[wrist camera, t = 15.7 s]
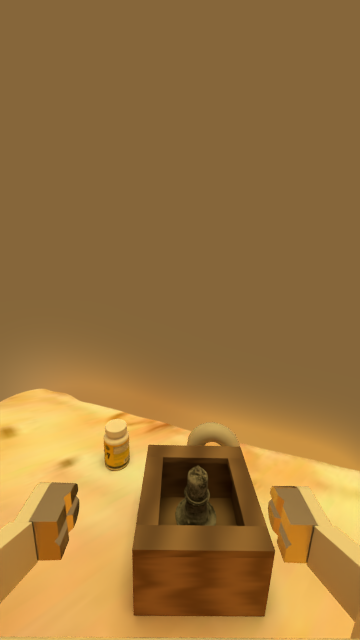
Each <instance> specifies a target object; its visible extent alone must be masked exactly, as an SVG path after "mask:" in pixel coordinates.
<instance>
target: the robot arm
mask: <svg viewBox="0 0 360 640" xmlns="http://www.w3.org/2000/svg"><path fill="white" fill-rule="evenodd" d="M77 492H78V485H77V484H76V483H54V482H52V483H49V482H40V483H39V484H37V485H36V487H35V488H34V490H33V492H32V493H31V495H30V496H29V498H28V499H27V501H26V503H25V504H24V506H23V507H22V509H21V511H20V512H19V514H18V515H17V517H16V519H15V520H14V522H9V523H8V524H6V525H5V526H4V527H2V528H1V529H0V603H1V602H2V601H3V600H4V599H5V598H6V597H7V595H8V594H9V593H10V592H11V591H12V590H13V589H14V588H15V587H16V586H17V584H18V583H19V582H20V581H21V580H22V579H23V578H24V577H25V576H26V574H27V573H28V572H29V571H30V570H31V569H32V568H33V567H34V566H35V565H36V563H37V562H38V561H39V560H61V559H62V556H63V554H64V551H65V549H66V546H67V544H68V541H69V535H68V533H69V532H70V531H71V530H72V529H73V528H74V526H75V523H76V520H77V516H78V512H79V499H78V498H77V497H76V495H77ZM270 495H271V497H272V499H271V500H270V501H269V505H268V513H269V520H270V524H271V527H272V529H273V531H274V532H275V533H276V534H277V535H278V540H277V544H278V547H279V549H280V552H281V555H282V558H283V561H284V562H287V563H307V566H308V567H309V568H310V569H311V570H312V572H313V573H314V574H315V575H316V576H317V578H318V579H319V580H320V581H321V582H322V584H323V585H324V586H325V587H326V588H327V589H328V591H329V592H330V593H331V594H332V595H333V597H334V598H335V599H336V600H337V601H338V603H339V604H340V605H341V606H342V607H343V608H344V610H345V611H346V612H347V613H348V614H349V616H350V617H351V618H352V619H353V620H354V622H355V624H354V627H353V631H352V634H351V638H350V639H306V638H159V637H0V640H360V545H358V544H357V543H356V542H355V541H354V540H352V539H351V538H350V537H349V536H347V535H346V534H345V533H344V532H343V531H341V530H340V529H339V528H338V527H336V526H332V524H331V523H330V521H329V519H328V518H327V516H326V514H325V513H324V511H323V509H322V507H321V506H320V504H319V502H318V501H317V499H316V497H315V496H314V494H313V492H312V490H311V489H310V488H309V487H307V486H296V487H295V486H272V487H271V491H270Z"/></svg>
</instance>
